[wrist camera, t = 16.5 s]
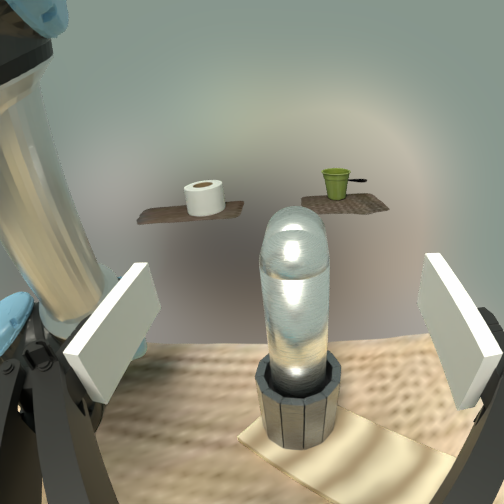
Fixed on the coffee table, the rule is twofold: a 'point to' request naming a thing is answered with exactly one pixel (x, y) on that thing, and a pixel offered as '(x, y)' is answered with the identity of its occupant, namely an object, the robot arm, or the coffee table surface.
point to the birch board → (358, 463)
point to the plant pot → (336, 182)
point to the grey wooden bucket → (298, 409)
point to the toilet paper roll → (205, 197)
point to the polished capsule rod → (296, 300)
